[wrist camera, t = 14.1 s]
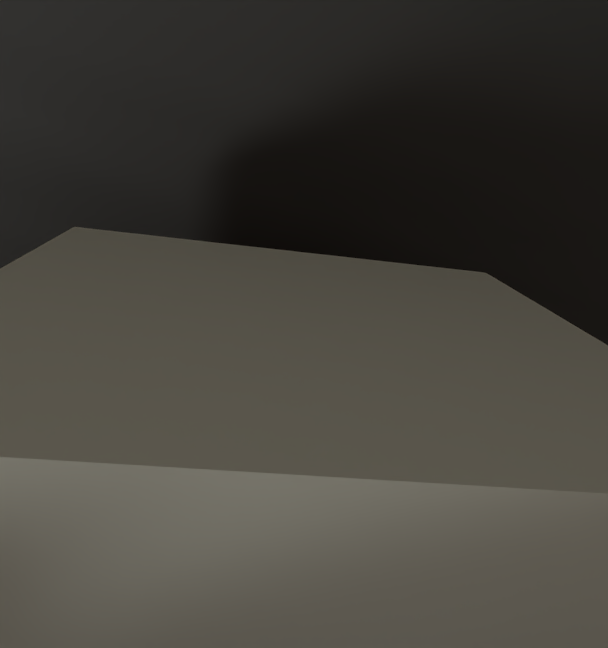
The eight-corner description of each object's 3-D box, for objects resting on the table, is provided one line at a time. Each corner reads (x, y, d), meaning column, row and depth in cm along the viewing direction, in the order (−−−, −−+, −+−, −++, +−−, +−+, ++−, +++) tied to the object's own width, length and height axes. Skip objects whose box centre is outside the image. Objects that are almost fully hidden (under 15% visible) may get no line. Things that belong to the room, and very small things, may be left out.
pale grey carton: (70, 663, 11) (-127, 1263, 5) (74, 226, 9) (-303, 438, 3) (393, 669, 12) (536, 1190, 6) (485, 272, 9) (885, 510, 4)
